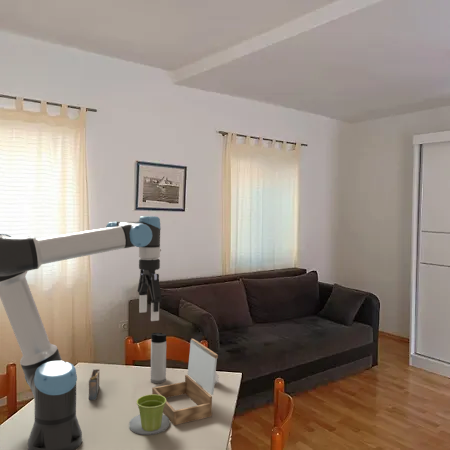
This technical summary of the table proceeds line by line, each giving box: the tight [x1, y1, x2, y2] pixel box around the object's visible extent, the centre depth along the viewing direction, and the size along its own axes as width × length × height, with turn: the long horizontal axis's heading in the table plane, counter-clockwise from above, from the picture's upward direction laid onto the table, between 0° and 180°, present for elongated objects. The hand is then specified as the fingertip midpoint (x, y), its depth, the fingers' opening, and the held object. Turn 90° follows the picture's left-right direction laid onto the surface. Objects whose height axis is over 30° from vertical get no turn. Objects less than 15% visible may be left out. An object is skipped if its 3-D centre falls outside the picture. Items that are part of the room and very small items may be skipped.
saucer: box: [128, 414, 170, 436], centre depth 145 cm, size 13×13×1 cm
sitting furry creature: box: [195, 371, 220, 387], centre depth 180 cm, size 10×9×12 cm
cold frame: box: [151, 374, 213, 426], centre depth 157 cm, size 14×22×7 cm, turn 28°
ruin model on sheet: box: [88, 368, 100, 401], centre depth 168 cm, size 11×3×10 cm, turn 10°
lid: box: [187, 338, 219, 396], centre depth 161 cm, size 14×21×1 cm
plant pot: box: [136, 393, 167, 431], centre depth 141 cm, size 9×9×9 cm
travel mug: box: [150, 332, 167, 384], centre depth 181 cm, size 6×7×20 cm
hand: (148, 316), depth 161 cm, fingers open, 13 cm apart
